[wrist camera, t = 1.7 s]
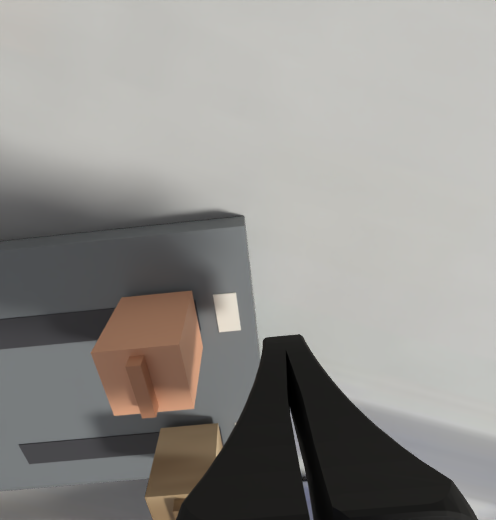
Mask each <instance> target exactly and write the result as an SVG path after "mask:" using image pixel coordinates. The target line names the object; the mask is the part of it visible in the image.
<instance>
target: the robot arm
mask: <svg viewBox="0 0 496 520" xmlns="http://www.w3.org/2000/svg"><path fill="white" fill-rule="evenodd" d="M290 409H291V414H292V418H293V422H294V426H295V430H296V434H297V438H298V442H299V446H300V451H301V455H302V459H303V463H304V467H305V472H306V477H307V481H304V482H302V477H301V472H300V467H299V461H298V456H297V451H296V445H295V440H294V434H293V428H292V423H291V417H290ZM176 520H478V519H477V517H476V515H475V513H474V512H473V510H472V508H471V507H470V505H469V504H468V502H467V501H466V499H465V498H464V496H463V495H462V494H461V492H460V491H459V489H458V488H457V487H456V485H455V484H454V482H453V481H452V480H451V479H449V478H447V477H446V476H444V475H443V474H441V473H440V472H438V471H437V470H435V469H433V468H432V467H430V466H429V465H427V464H426V463H424V462H422V461H421V460H419V459H418V458H417V457H415V456H414V455H413V454H411V453H410V452H409V451H407V450H406V449H404V448H403V447H402V446H400V445H399V444H398V443H397V442H396V441H394V440H393V439H392V438H391V437H389V436H388V435H387V434H386V433H385V432H383V431H382V430H381V429H380V428H378V427H377V426H376V425H375V424H374V423H373V422H372V421H371V420H369V419H368V418H367V417H366V416H365V415H364V414H363V413H362V412H361V411H360V410H359V409H358V408H357V407H356V406H355V405H354V404H353V403H352V402H351V401H350V400H349V399H348V398H347V397H346V396H345V395H344V393H343V392H342V391H341V390H340V389H339V388H338V386H337V385H336V384H335V383H334V382H333V381H332V379H331V378H330V377H329V376H328V374H327V373H326V372H325V370H324V369H323V368H322V366H321V365H320V364H319V362H318V361H317V359H316V358H315V356H314V355H313V353H312V352H311V350H310V349H309V347H308V345H307V344H306V342H305V340H304V338H303V336H301V335H300V334H299V335H288V336H278V337H267V338H265V339H264V340H263V349H262V355H261V360H260V364H259V368H258V371H257V374H256V377H255V381H254V384H253V386H252V389H251V391H250V394H249V397H248V399H247V402H246V404H245V406H244V408H243V411H242V413H241V415H240V417H239V419H238V421H237V423H236V425H235V427H234V428H233V430H232V432H231V434H230V436H229V437H228V439H227V441H226V443H225V444H224V446H223V448H222V449H221V451H220V452H219V454H218V455H217V457H216V458H215V460H214V461H213V463H212V464H211V466H210V467H209V469H208V470H207V471H206V473H205V474H204V476H203V477H202V478H201V480H200V481H199V482H198V483H197V485H196V486H195V487H194V488H193V490H192V491H191V492H190V493H189V495H188V496H187V497H186V498H185V500H184V501H183V502H182V504H181V507H180V510H179V512H178V515H177V518H176Z"/></svg>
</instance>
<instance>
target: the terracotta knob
mask: <svg viewBox="0 0 496 520" xmlns="http://www.w3.org/2000/svg"><path fill="white" fill-rule="evenodd" d="M202 350H203V344H202V339H201V334H200V329H199V324H198V319H197V314H196V309H195V304H194V299H193V294H192V291H182V292H172V293H162V294H152V295H141V296H131V297H121V299H120V301H119V303H118V305H117V306H116V308H115V310H114V312H113V314H112V315H111V317H110V319H109V321H108V323H107V324H106V326H105V328H104V330H103V331H102V333H101V335H100V337H99V339H98V340H97V342H96V344H95V346H94V348H93V349H92V351H91V355H92V358H93V361H94V363H95V366H96V369H97V371H98V374H99V377H100V379H101V382H102V385H103V387H104V390H105V393H106V395H107V398H108V401H109V404H110V406H111V409H112V412H113V414H114V416H119V415H131V414H141V416H142V419H143V418H154V417H156V416H157V412H164V411H175V410H187V409H194V406H195V399H196V392H197V385H198V378H199V371H200V364H201V357H202Z"/></svg>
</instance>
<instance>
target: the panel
mask: <svg viewBox="0 0 496 520" xmlns="http://www.w3.org/2000/svg"><path fill="white" fill-rule="evenodd" d="M182 291H192V294H193V299H194V304H195V309H196V314H197V319H198V324H199V329H200V334H201V339H202V344H203V350H202V357H201V364H200V371H199V378H198V385H197V392H196V399H195V406H194V409H187V410H175V411H164V412H157V416H156V417H154V418H143V419H142V416H141V414H131V415H119V416H114V414H113V412H112V409H111V406H110V404H109V401H108V398H107V395H106V393H105V390H104V387H103V385H102V382H101V379H100V377H99V374H98V371H97V369H96V366H95V363H94V361H93V358H92V355H91V351H92V349H93V348H94V346H95V344H96V342H97V340H98V339H99V337H100V335H101V333H102V331H103V330H104V328H105V326H106V324H107V323H108V321H109V319H110V317H111V315H112V314H113V312H114V310H115V308H116V306H117V305H118V303H119V301H120V299H121V297H131V296H141V295H152V294H162V293H172V292H182ZM259 364H260V352H259V343H258V334H257V325H256V316H255V307H254V298H253V289H252V280H251V271H250V262H249V253H248V244H247V235H246V226H245V217H244V216H239V217H230V218H220V219H210V220H201V221H191V222H181V223H172V224H162V225H152V226H143V227H133V228H123V229H114V230H104V231H94V232H85V233H75V234H65V235H56V236H46V237H36V238H27V239H17V240H7V241H0V491H9V490H21V489H33V488H45V487H57V486H68V485H80V484H92V483H104V482H116V481H128V480H140V479H149V477H150V472H151V468H152V464H153V459H154V455H155V451H156V446H157V442H158V438H159V433H160V429H161V428H168V427H179V426H191V425H202V424H213V423H218V425H219V430H220V436H221V441H222V446H224V444H225V443H226V441H227V439H228V437H229V436H230V434H231V432H232V430H233V428H234V427H235V425H236V423H237V421H238V419H239V417H240V415H241V413H242V411H243V408H244V406H245V404H246V402H247V399H248V397H249V394H250V391H251V389H252V386H253V384H254V381H255V377H256V374H257V371H258V368H259Z"/></svg>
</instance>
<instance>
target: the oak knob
mask: <svg viewBox="0 0 496 520" xmlns="http://www.w3.org/2000/svg"><path fill="white" fill-rule="evenodd" d="M222 448H223V446H222V441H221V436H220V430H219V425H218V423H213V424H202V425H191V426H179V427H168V428H161V429H160V433H159V438H158V442H157V446H156V451H155V455H154V459H153V464H152V468H151V472H150V477H149V481H148V485H147V490H146V494H145V500H146V502H147V505H148V508H149V510H150V513H151V516H152V518H153V520H176V518H177V515H178V512H179V510H180V507H181V504H182V502H183V501H184V500H185V498H186V497H187V496H188V495H189V493H190V492H191V491H192V490H193V488H194V487H195V486H196V485H197V483H198V482H199V481H200V480H201V478H202V477H203V476H204V474H205V473H206V471H207V470H208V469H209V467H210V466H211V464H212V463H213V461H214V460H215V458H216V457H217V455H218V454H219V452H220V451H221V449H222Z"/></svg>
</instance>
